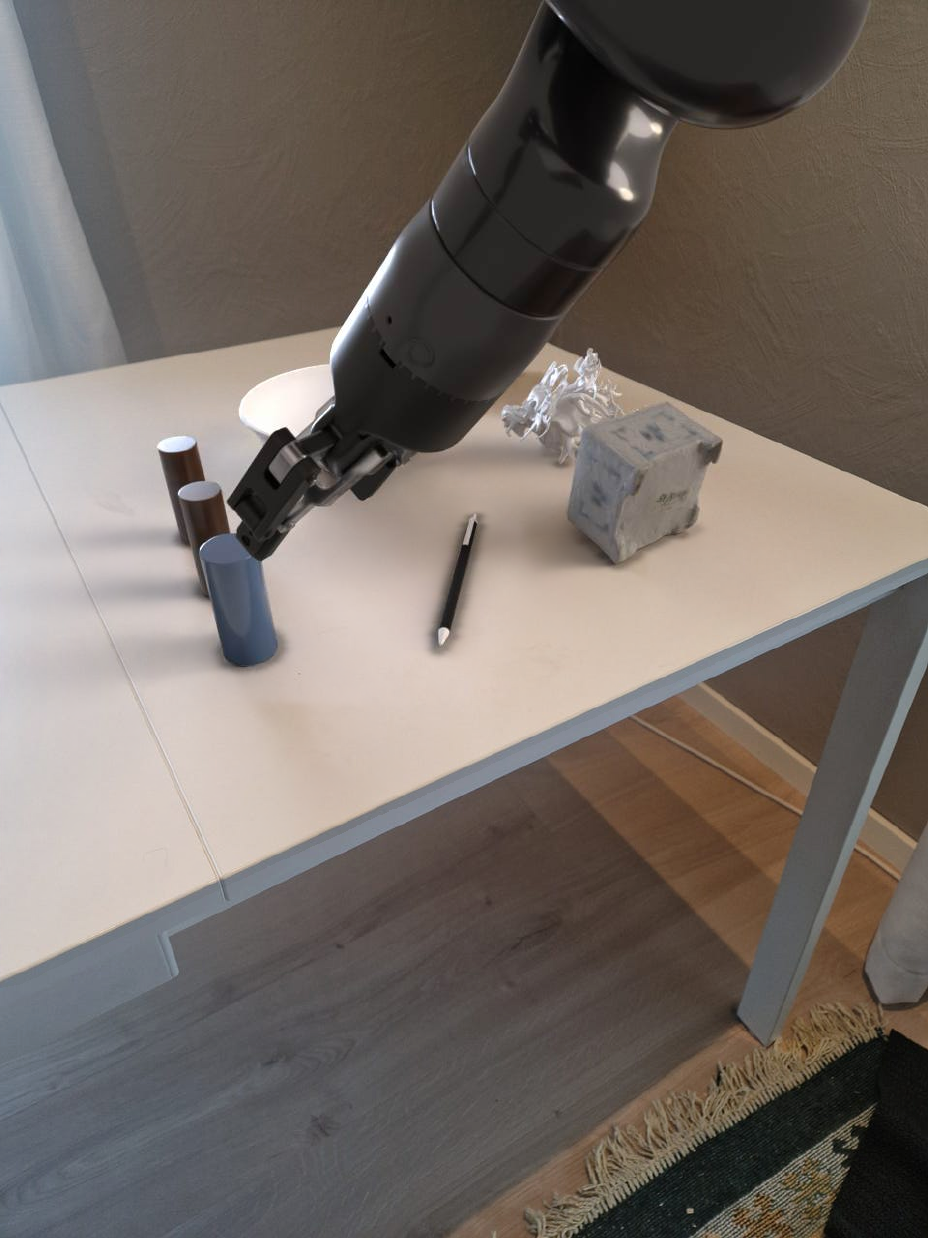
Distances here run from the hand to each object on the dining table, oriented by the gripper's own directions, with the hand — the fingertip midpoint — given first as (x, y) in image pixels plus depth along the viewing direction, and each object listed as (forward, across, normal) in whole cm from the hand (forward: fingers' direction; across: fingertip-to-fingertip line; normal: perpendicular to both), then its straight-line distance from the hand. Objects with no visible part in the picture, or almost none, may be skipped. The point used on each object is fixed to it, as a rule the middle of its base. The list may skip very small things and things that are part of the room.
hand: (305, 515), depth 50 cm
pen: (+13, -19, +8) cm, 24 cm away
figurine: (+14, -44, +5) cm, 47 cm away
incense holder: (+6, -33, +14) cm, 36 cm away
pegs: (+25, -9, -7) cm, 28 cm away
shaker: (+18, -2, +2) cm, 18 cm away
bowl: (+26, -30, -10) cm, 41 cm away
